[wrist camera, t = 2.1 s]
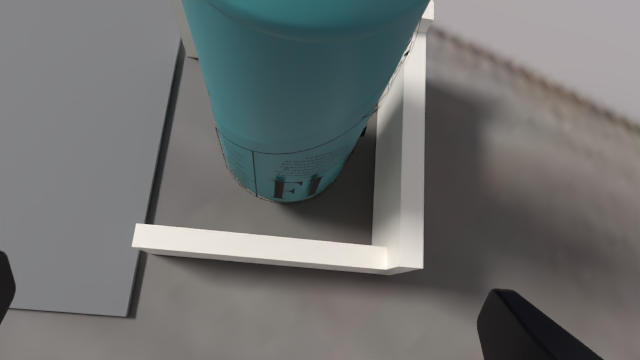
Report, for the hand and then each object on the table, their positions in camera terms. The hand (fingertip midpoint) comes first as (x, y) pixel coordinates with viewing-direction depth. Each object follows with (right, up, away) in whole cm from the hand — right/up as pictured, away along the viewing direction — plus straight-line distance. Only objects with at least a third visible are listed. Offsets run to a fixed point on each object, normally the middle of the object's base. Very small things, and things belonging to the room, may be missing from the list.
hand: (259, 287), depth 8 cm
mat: (-13, +5, +14) cm, 19 cm away
